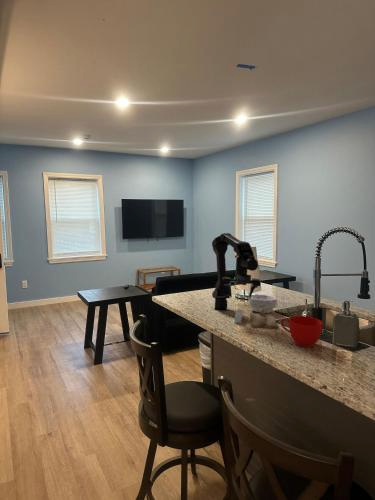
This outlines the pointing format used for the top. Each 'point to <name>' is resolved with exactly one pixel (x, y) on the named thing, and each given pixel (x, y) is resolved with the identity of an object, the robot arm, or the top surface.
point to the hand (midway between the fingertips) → (240, 298)
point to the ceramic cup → (304, 330)
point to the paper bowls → (262, 303)
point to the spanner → (238, 316)
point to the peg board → (259, 321)
